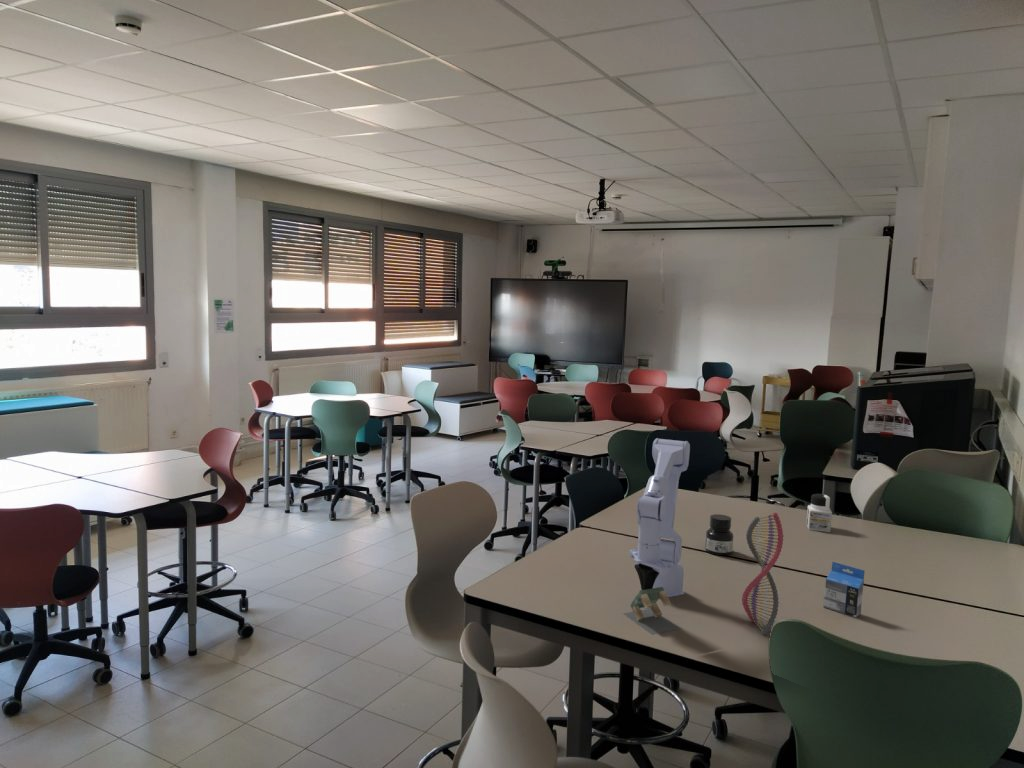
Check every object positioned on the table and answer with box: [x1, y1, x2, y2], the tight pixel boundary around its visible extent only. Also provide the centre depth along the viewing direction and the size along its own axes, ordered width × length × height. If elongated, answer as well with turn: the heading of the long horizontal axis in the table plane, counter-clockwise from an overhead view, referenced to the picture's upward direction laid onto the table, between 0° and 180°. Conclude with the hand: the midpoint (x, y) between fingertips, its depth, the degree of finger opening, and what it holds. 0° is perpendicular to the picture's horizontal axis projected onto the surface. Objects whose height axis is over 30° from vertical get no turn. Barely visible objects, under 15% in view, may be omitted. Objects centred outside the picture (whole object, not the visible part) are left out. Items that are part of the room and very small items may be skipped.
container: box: [806, 493, 833, 533], centre depth 269 cm, size 8×8×13 cm
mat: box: [623, 608, 682, 635], centre depth 183 cm, size 9×13×1 cm
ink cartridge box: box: [823, 561, 866, 618], centre depth 193 cm, size 9×4×12 cm, turn 45°
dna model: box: [741, 511, 784, 636], centre depth 180 cm, size 9×9×30 cm
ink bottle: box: [704, 513, 734, 556], centre depth 239 cm, size 10×9×12 cm
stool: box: [630, 587, 671, 621], centre depth 184 cm, size 5×7×7 cm
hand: (646, 592), depth 185 cm, fingers closed
